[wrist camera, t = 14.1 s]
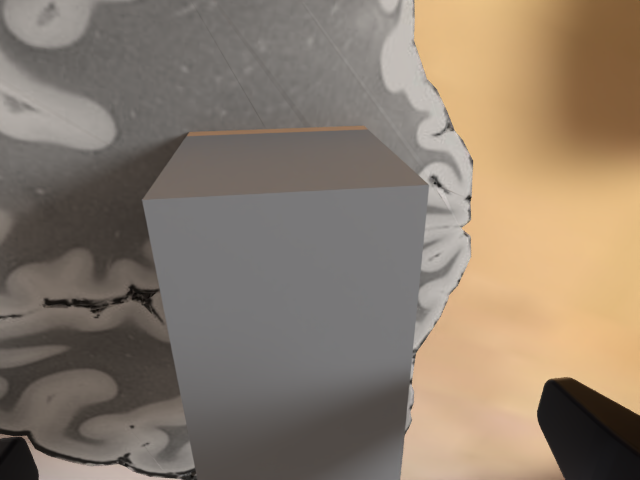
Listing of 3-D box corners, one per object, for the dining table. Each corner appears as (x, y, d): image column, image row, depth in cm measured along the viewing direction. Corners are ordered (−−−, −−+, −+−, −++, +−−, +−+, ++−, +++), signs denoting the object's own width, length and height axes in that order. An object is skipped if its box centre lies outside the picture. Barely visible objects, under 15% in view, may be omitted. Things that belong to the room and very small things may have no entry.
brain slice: (-238, -49, 11) (-399, -76, 8) (427, -141, 12) (478, -192, 9) (70, 472, 19) (40, 542, 17) (441, 395, 20) (469, 449, 18)
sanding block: (356, 362, 15) (397, 503, 11) (223, 375, 15) (206, 528, 10) (363, 125, 12) (429, 185, 7) (189, 132, 11) (142, 199, 7)
